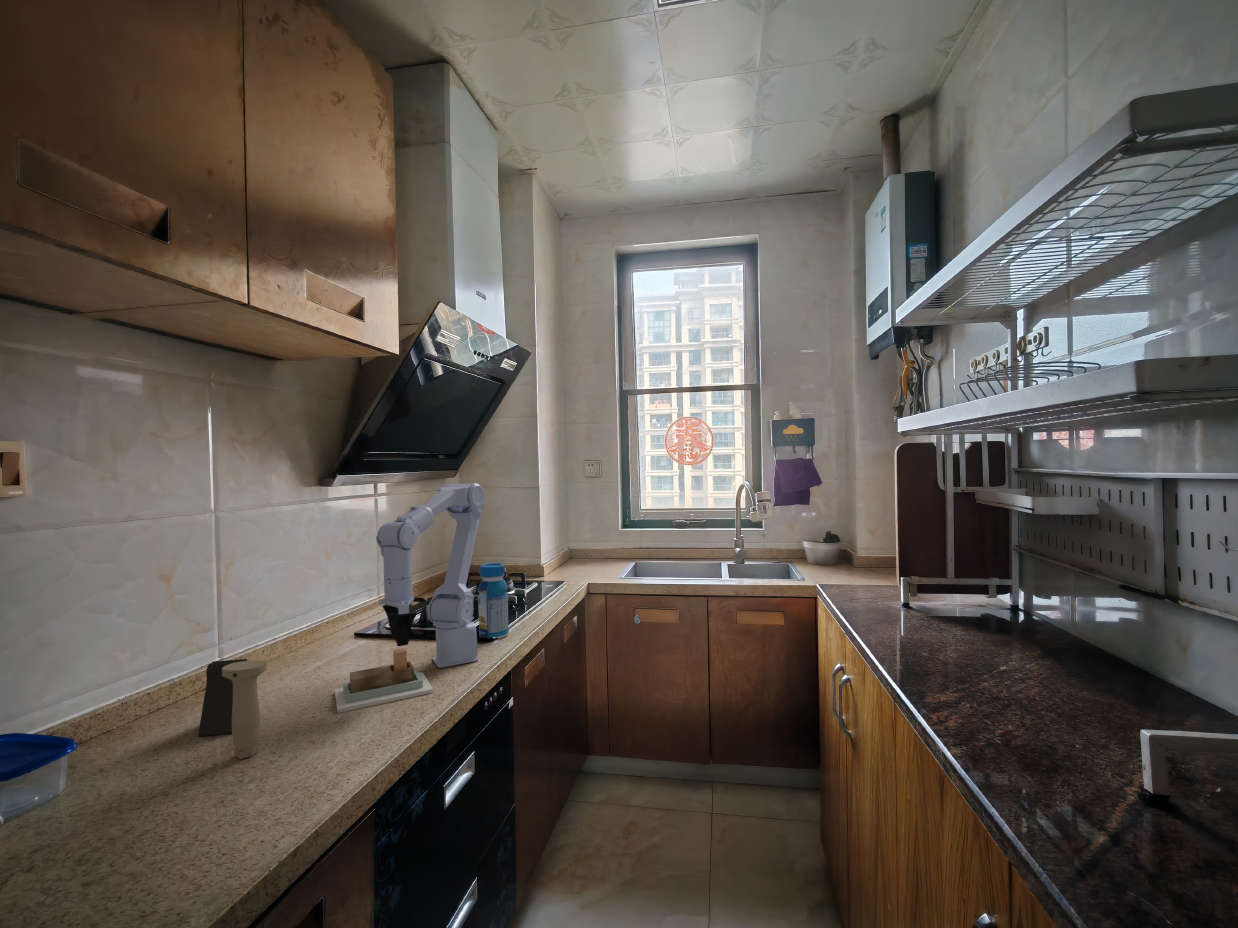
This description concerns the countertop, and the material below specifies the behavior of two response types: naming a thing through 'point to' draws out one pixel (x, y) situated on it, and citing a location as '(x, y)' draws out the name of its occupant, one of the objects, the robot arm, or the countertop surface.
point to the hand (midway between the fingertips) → (400, 640)
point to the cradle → (381, 693)
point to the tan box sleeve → (380, 677)
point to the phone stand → (217, 701)
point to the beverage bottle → (493, 601)
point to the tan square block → (400, 659)
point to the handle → (245, 705)
